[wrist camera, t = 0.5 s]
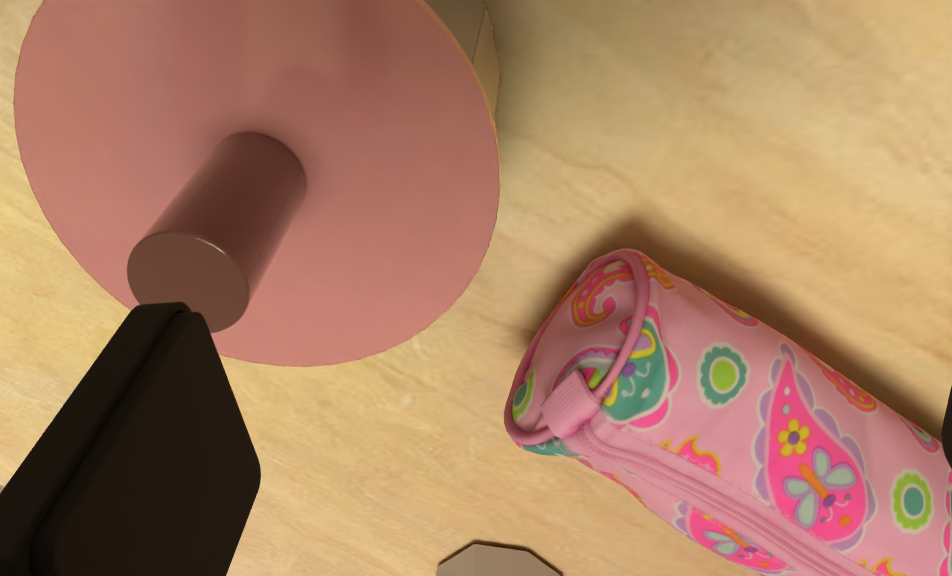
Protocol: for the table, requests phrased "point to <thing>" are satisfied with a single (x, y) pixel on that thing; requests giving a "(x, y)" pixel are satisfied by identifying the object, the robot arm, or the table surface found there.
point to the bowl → (473, 40)
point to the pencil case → (730, 430)
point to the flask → (494, 563)
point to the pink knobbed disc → (263, 164)
